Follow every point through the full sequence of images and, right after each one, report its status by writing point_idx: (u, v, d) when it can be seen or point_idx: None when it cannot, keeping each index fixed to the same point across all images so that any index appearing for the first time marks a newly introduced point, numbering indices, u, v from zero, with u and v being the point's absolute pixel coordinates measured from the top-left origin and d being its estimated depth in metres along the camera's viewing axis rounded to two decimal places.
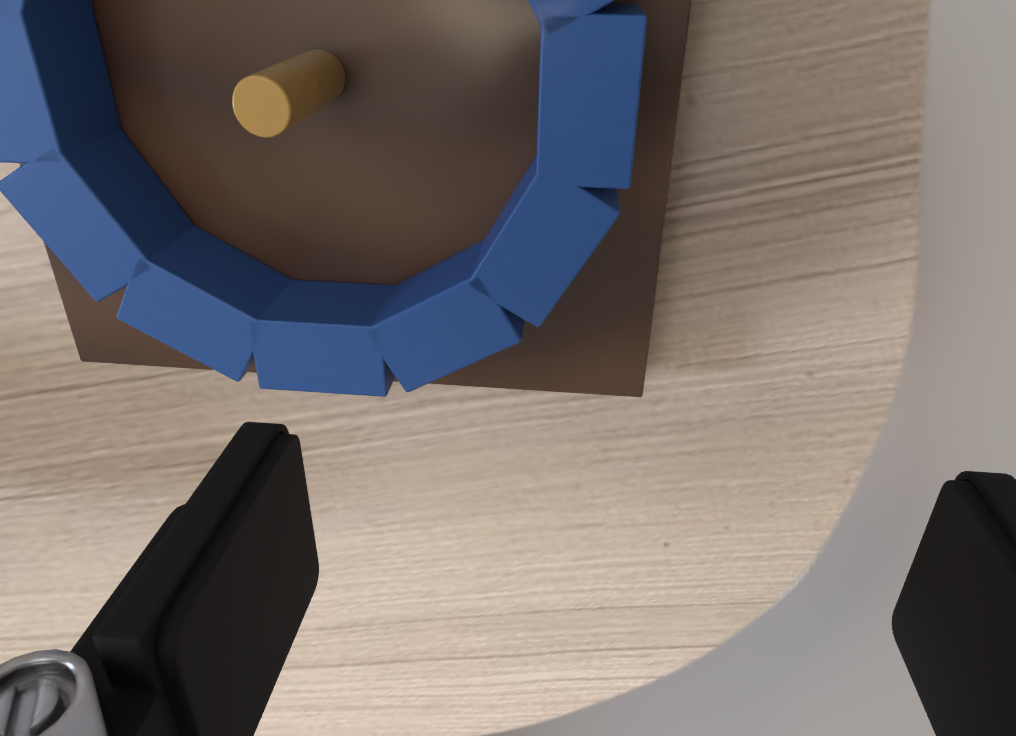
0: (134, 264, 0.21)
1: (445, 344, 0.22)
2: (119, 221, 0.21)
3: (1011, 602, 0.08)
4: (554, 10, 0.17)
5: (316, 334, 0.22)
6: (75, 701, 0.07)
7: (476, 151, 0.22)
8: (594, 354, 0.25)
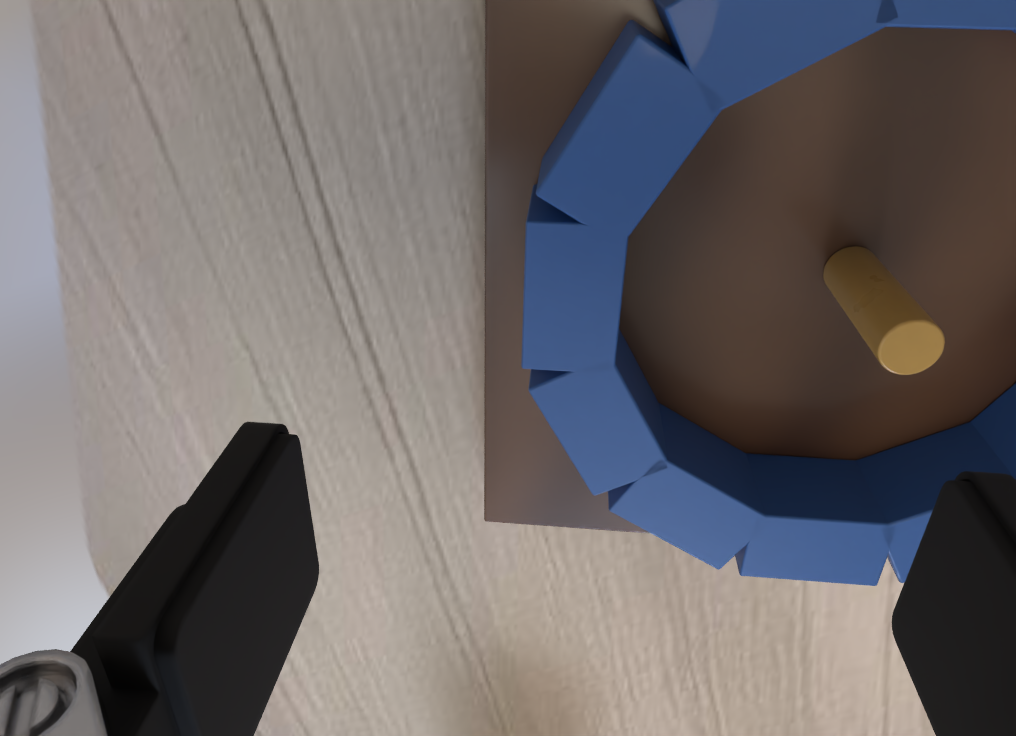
0: None
1: None
2: None
3: (1011, 602, 0.08)
4: (872, 10, 0.15)
5: None
6: (75, 701, 0.07)
7: (977, 104, 0.18)
8: None
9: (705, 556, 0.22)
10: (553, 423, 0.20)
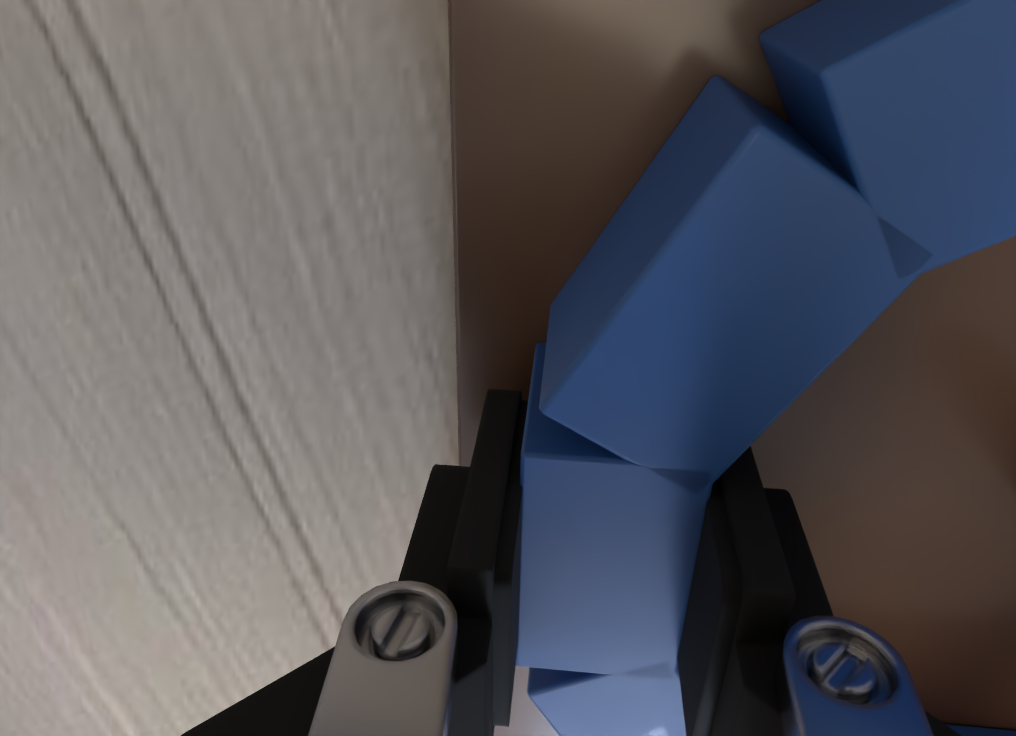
0: None
1: None
2: None
3: None
4: None
5: None
6: (446, 622, 0.08)
7: None
8: None
9: None
10: None
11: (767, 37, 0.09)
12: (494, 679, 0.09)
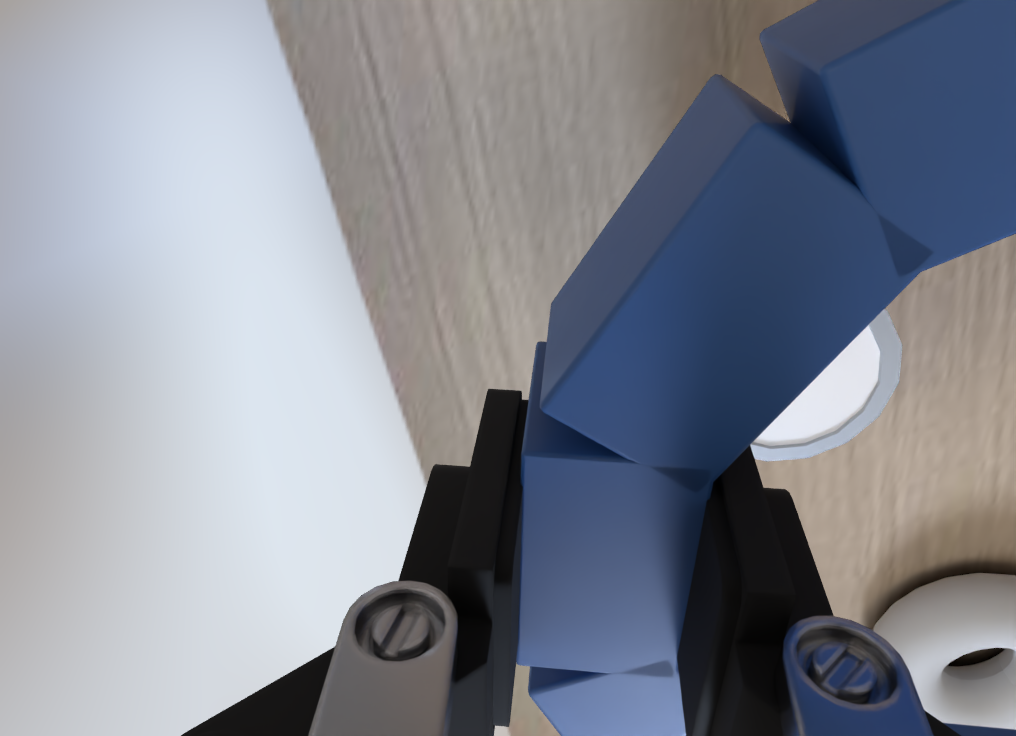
0: None
1: None
2: None
3: None
4: None
5: None
6: (446, 622, 0.08)
7: None
8: None
9: None
10: None
11: (767, 36, 0.09)
12: (494, 679, 0.09)
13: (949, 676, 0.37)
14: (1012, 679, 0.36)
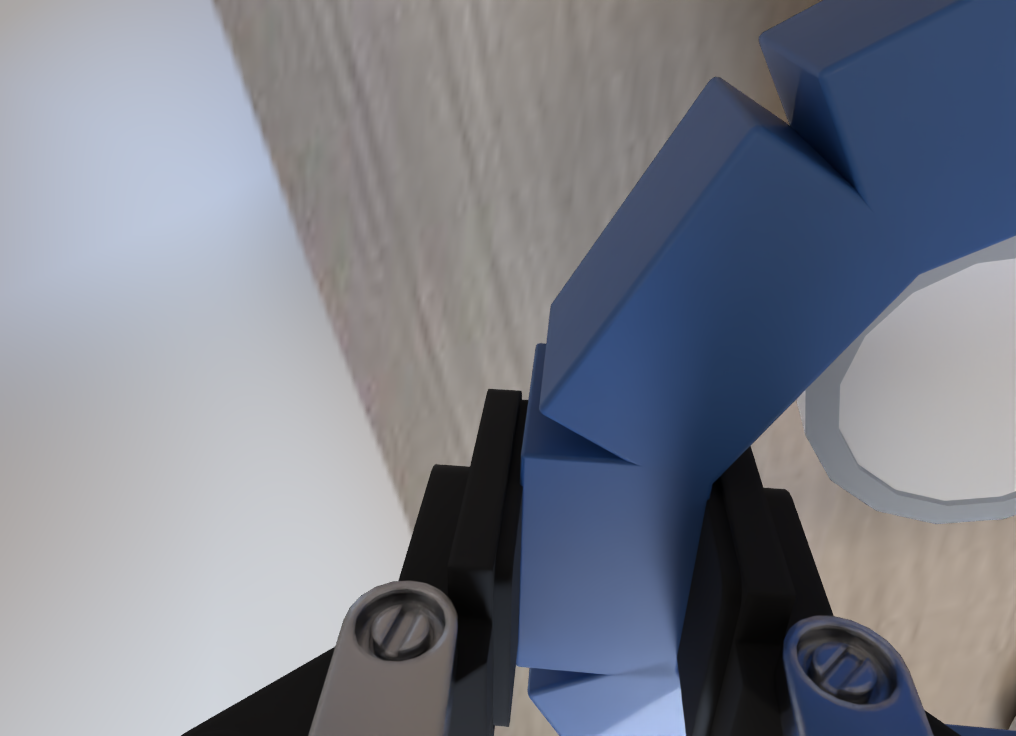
0: None
1: None
2: None
3: None
4: None
5: None
6: (446, 623, 0.08)
7: None
8: None
9: None
10: None
11: (766, 38, 0.09)
12: (494, 679, 0.09)
13: None
14: None
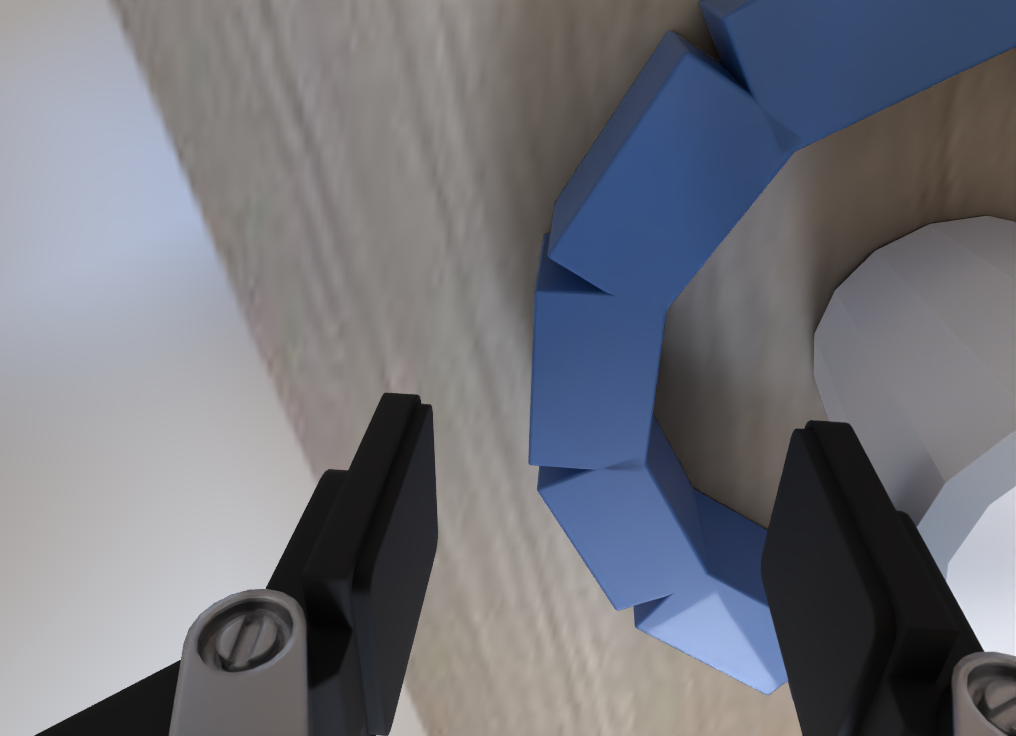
0: None
1: None
2: None
3: (826, 529, 0.09)
4: (1009, 19, 0.11)
5: None
6: (294, 632, 0.08)
7: None
8: None
9: (752, 680, 0.18)
10: (568, 528, 0.16)
11: (702, 2, 0.13)
12: (365, 688, 0.09)
13: None
14: None
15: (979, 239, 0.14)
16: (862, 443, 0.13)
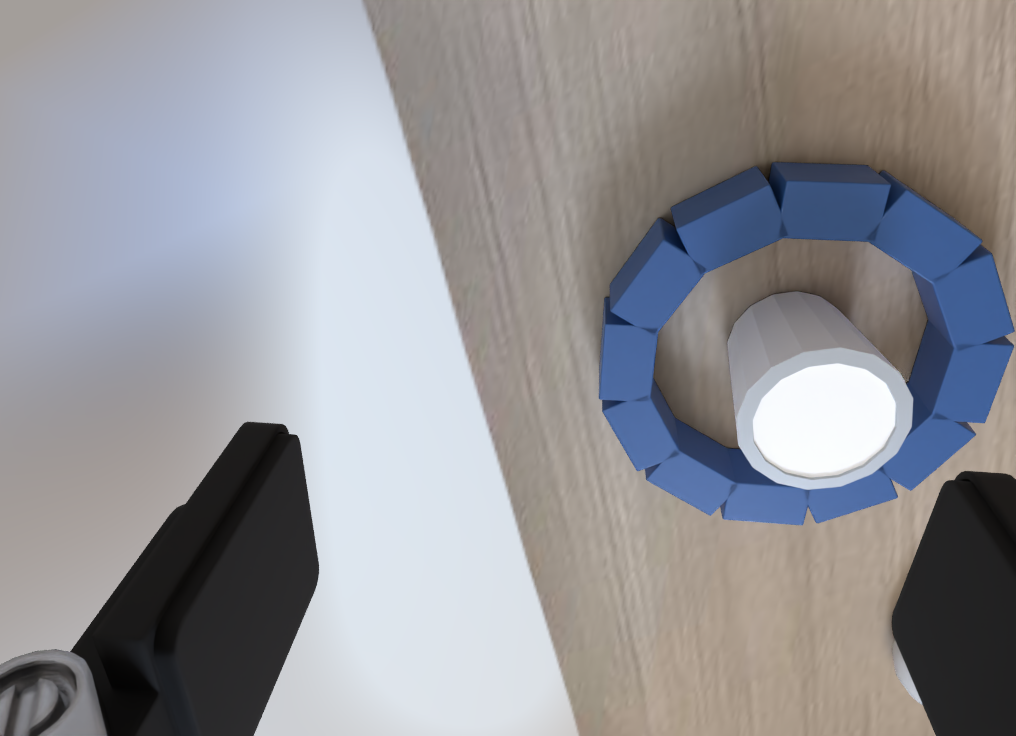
0: (878, 471, 0.36)
1: (980, 303, 0.31)
2: None
3: (1011, 602, 0.08)
4: (775, 231, 0.31)
5: (951, 382, 0.33)
6: (75, 701, 0.07)
7: None
8: None
9: (702, 507, 0.38)
10: (615, 429, 0.36)
11: (671, 210, 0.33)
12: None
13: None
14: None
15: (786, 303, 0.34)
16: (733, 384, 0.33)
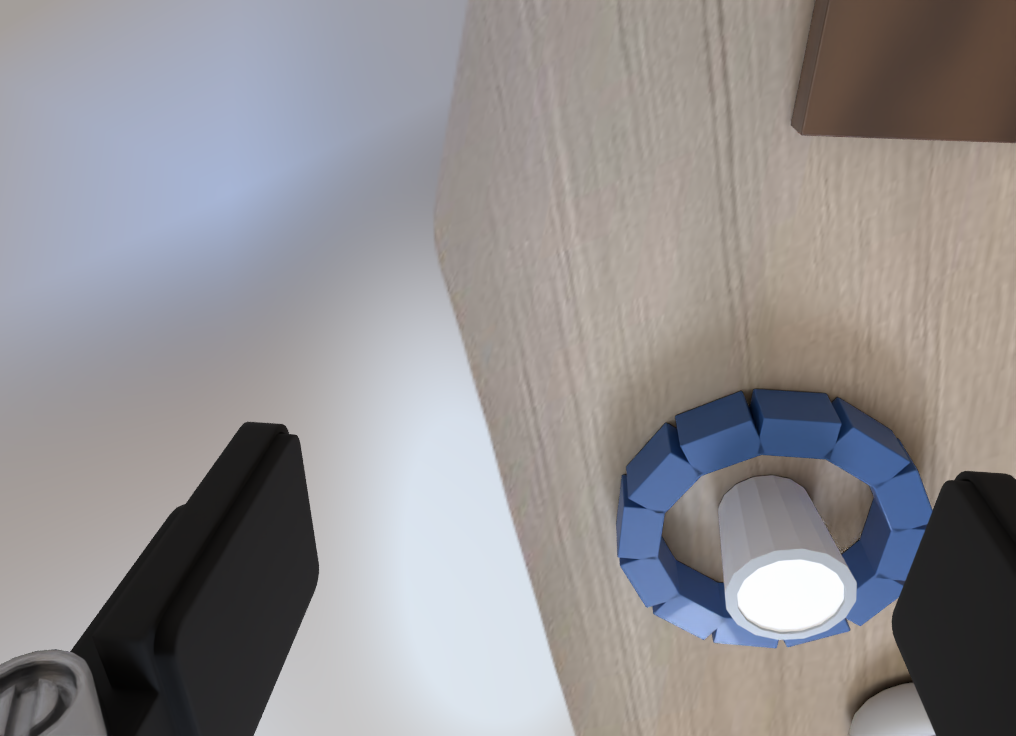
0: None
1: (910, 502, 0.41)
2: None
3: (1011, 602, 0.08)
4: (755, 450, 0.40)
5: (889, 553, 0.43)
6: (75, 701, 0.07)
7: None
8: None
9: (697, 634, 0.48)
10: (630, 578, 0.46)
11: (676, 420, 0.43)
12: None
13: None
14: None
15: (764, 489, 0.44)
16: (722, 556, 0.43)
